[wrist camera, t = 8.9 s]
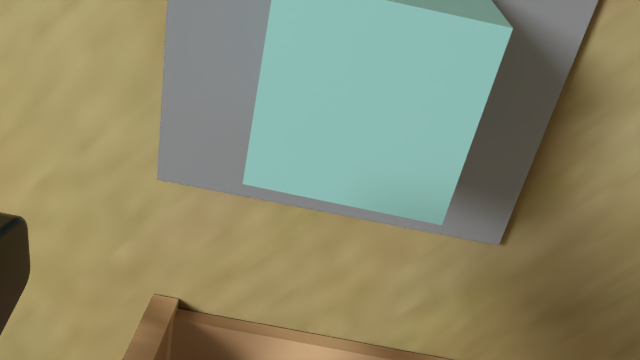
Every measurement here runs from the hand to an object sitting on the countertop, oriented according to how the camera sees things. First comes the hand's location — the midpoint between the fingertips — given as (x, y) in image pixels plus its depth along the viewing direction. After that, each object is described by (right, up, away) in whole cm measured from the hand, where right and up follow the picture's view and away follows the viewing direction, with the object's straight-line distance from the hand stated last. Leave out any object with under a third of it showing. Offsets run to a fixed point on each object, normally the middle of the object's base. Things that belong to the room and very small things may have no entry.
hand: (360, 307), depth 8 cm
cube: (+1, +6, +10) cm, 12 cm away
